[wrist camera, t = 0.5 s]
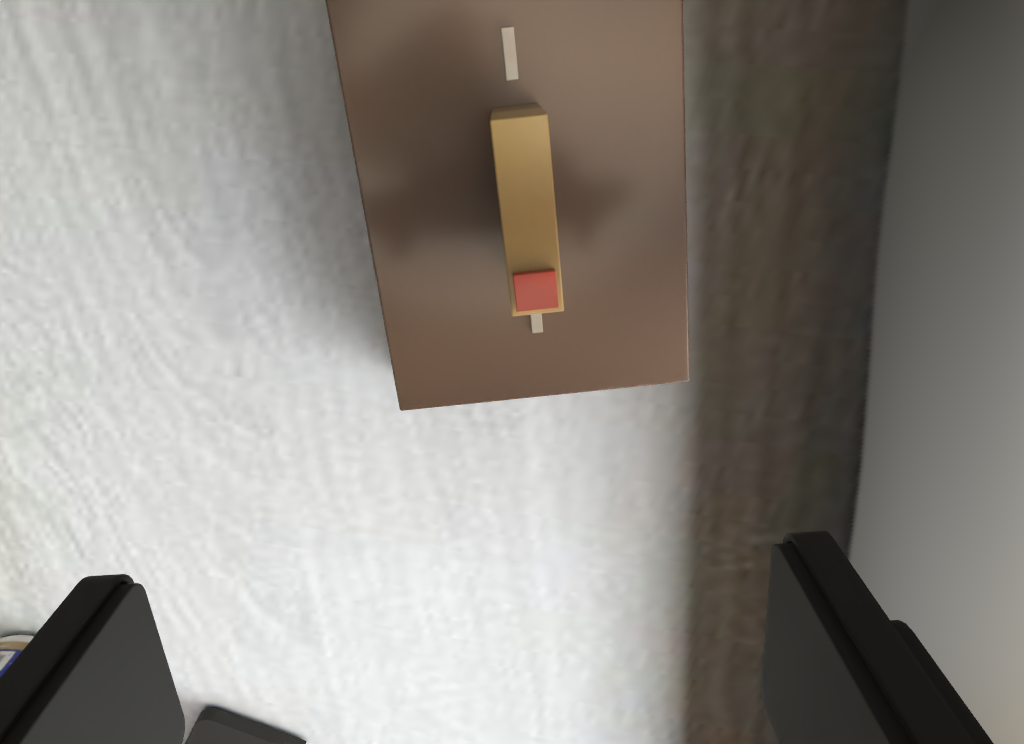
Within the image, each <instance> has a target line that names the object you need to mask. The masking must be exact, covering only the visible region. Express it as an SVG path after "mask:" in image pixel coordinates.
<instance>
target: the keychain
mask: <svg viewBox="0 0 1024 744" xmlns="http://www.w3.org/2000/svg"><path fill="white" fill-rule="evenodd" d="M185 744H306V741H304V740H302V739H299V738H296V737H294V736H291V735H288V734H285V733H283V732H280V731H277V730H274V729H272V728H269V727H266V726H263V725H261V724H258V723H255V722H253V721H250V720H247V719H244V718H242V717H239V716H236V715H233V714H231V713H228V712H225V711H223V710H220V709H217V708H207V709H205V710H203V711H202V712H201V714H200V716H199V718H198V719H197V721H196V723H195V725H194V727H193V729H192V731H191V733H190V735H189V737H188V739H187V741H186V743H185Z"/></svg>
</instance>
